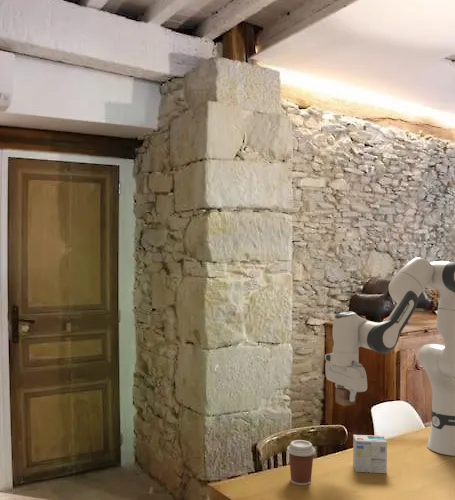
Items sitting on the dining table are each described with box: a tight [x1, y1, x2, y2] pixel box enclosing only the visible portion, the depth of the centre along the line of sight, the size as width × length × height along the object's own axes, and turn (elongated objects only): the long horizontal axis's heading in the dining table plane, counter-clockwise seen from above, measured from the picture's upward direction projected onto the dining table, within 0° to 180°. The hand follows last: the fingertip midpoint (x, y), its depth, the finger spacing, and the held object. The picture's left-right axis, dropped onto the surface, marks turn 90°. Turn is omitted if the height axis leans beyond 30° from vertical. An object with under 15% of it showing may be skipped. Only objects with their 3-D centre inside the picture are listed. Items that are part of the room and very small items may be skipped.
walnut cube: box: [334, 386, 357, 407], centre depth 183 cm, size 5×5×5 cm
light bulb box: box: [352, 434, 388, 474], centre depth 181 cm, size 11×7×11 cm, turn 84°
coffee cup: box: [286, 439, 316, 486], centre depth 170 cm, size 9×9×12 cm
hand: (345, 398), depth 183 cm, fingers closed on walnut cube, 5 cm apart
